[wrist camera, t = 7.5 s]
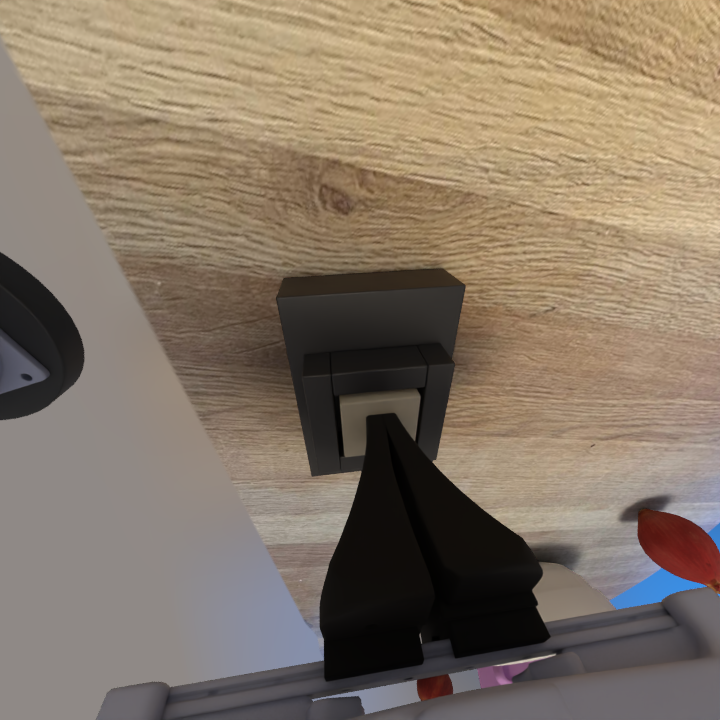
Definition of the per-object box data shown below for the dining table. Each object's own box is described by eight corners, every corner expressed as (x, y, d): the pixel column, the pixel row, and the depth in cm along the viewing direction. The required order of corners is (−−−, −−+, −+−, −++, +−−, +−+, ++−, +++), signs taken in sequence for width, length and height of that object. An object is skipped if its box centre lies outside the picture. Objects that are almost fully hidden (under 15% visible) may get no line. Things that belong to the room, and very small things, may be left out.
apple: (425, 655, 62) (437, 713, 55) (452, 654, 64) (467, 709, 58) (407, 665, 65) (417, 720, 58) (433, 663, 67) (446, 716, 61)
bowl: (426, 596, 41) (445, 669, 35) (515, 535, 33) (559, 615, 27) (512, 601, 47) (540, 663, 41) (604, 550, 39) (656, 619, 33)
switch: (404, 422, 16) (414, 450, 14) (342, 429, 16) (344, 458, 14) (409, 371, 14) (421, 396, 12) (337, 377, 14) (340, 404, 12)
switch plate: (420, 431, 21) (442, 487, 17) (312, 443, 20) (310, 504, 16) (443, 268, 14) (487, 300, 10) (283, 277, 13) (268, 315, 10)
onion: (679, 494, 32) (774, 577, 25) (646, 521, 35) (722, 601, 28) (638, 496, 31) (725, 584, 24) (607, 523, 34) (677, 607, 27)
